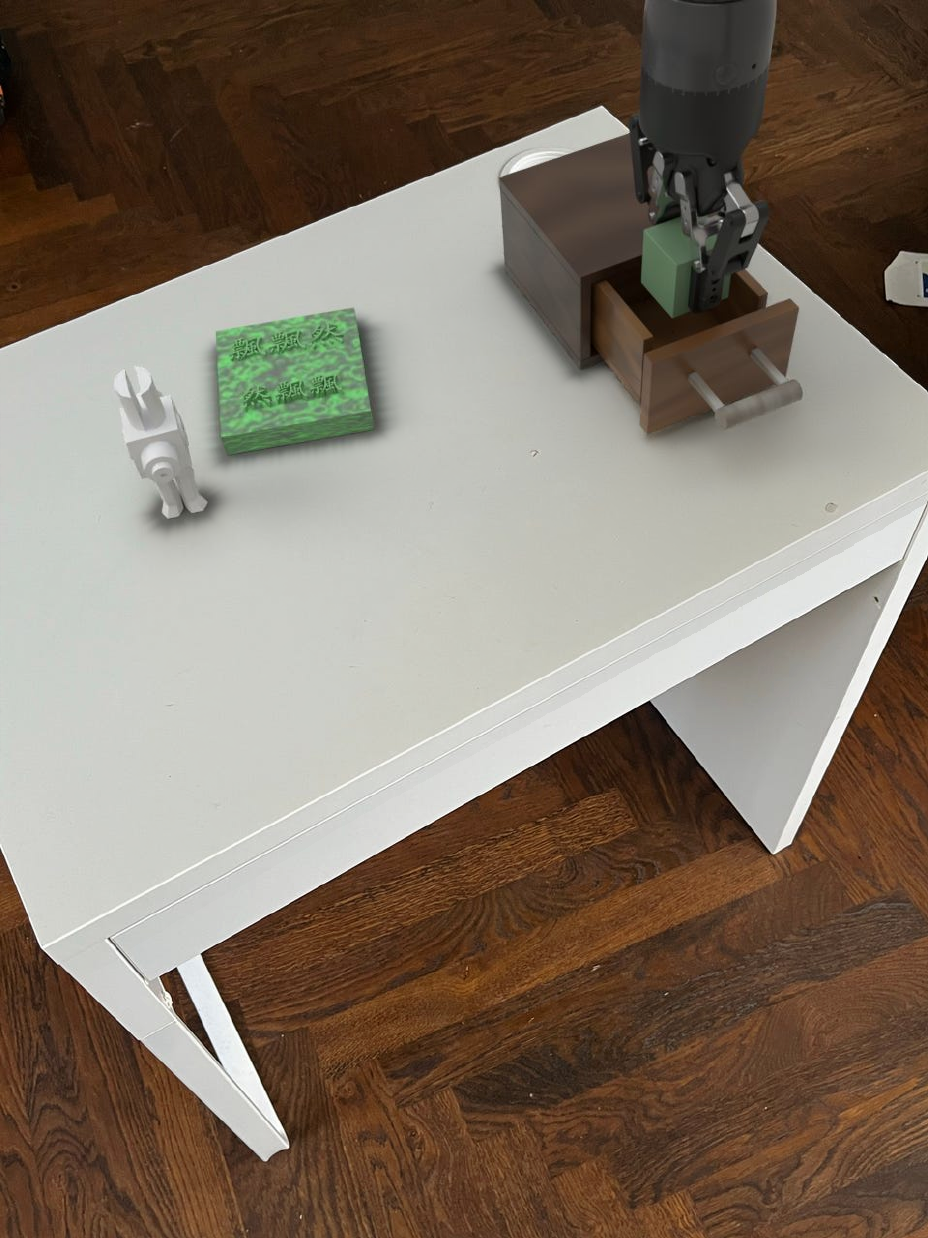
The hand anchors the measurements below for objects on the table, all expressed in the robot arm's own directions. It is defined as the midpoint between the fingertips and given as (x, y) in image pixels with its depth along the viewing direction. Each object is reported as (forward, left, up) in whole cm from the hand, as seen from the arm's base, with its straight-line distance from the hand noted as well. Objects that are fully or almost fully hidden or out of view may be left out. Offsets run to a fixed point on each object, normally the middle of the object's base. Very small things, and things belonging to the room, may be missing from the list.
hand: (684, 285), depth 82 cm
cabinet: (+8, -8, -8) cm, 13 cm away
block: (0, 0, 0) cm, 0 cm away
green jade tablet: (+28, +10, -8) cm, 31 cm away
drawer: (-1, +1, -7) cm, 7 cm away
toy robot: (+31, +23, -8) cm, 39 cm away
